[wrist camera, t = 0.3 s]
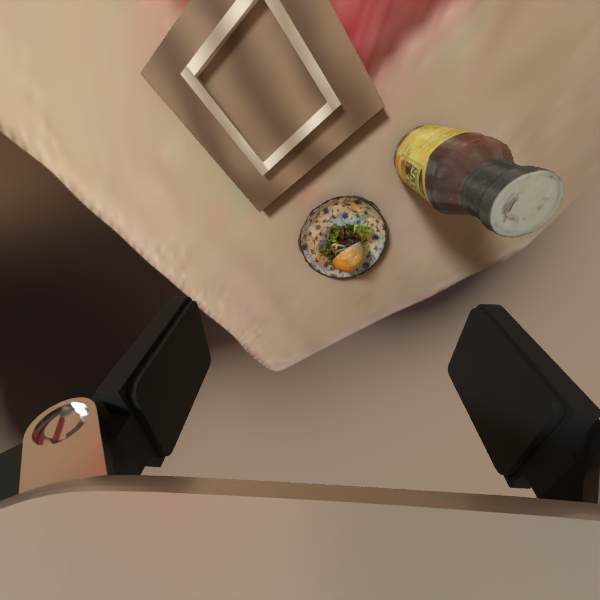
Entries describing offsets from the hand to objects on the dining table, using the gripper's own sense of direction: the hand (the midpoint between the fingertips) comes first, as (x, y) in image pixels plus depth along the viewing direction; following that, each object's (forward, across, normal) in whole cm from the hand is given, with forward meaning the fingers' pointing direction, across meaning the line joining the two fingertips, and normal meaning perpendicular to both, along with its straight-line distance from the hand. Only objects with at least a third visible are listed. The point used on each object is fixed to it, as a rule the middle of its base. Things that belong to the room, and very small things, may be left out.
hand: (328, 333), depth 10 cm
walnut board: (+30, +6, -9) cm, 32 cm away
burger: (+30, -3, +8) cm, 31 cm away
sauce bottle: (+30, -11, -2) cm, 32 cm away
